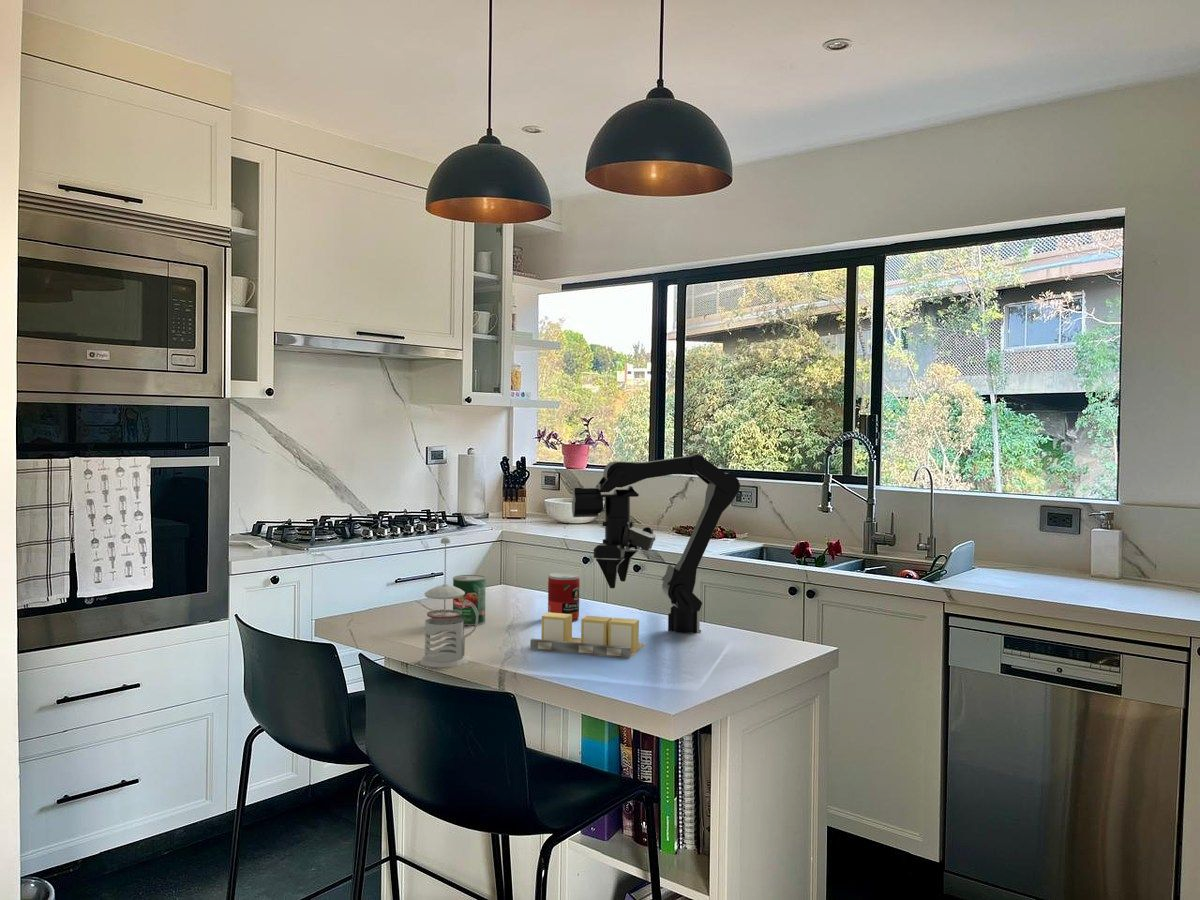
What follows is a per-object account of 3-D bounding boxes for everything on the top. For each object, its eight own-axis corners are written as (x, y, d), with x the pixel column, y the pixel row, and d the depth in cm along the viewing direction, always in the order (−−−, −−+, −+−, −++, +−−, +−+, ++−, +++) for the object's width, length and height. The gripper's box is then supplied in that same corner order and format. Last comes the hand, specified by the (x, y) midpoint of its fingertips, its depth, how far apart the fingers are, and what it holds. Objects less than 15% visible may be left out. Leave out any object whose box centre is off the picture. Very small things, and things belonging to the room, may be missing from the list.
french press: (424, 654, 183) (426, 534, 183) (480, 655, 183) (482, 534, 183) (414, 667, 174) (415, 540, 173) (473, 668, 173) (475, 540, 173)
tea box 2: (638, 647, 187) (639, 619, 187) (633, 652, 183) (633, 623, 183) (613, 645, 189) (614, 617, 189) (608, 650, 185) (608, 621, 185)
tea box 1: (611, 645, 189) (611, 617, 189) (605, 649, 185) (606, 621, 185) (587, 643, 191) (587, 615, 191) (580, 647, 187) (581, 619, 187)
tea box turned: (541, 643, 190) (541, 616, 189) (548, 639, 193) (548, 612, 193) (565, 646, 188) (565, 617, 188) (571, 641, 192) (572, 614, 192)
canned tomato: (485, 618, 219) (486, 574, 219) (485, 625, 211) (485, 579, 211) (453, 619, 218) (453, 574, 218) (451, 626, 210) (452, 579, 210)
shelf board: (645, 648, 191) (645, 634, 191) (629, 663, 178) (629, 648, 178) (552, 640, 197) (552, 626, 197) (529, 654, 185) (530, 639, 185)
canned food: (566, 623, 214) (566, 578, 214) (541, 619, 219) (541, 574, 219) (585, 618, 221) (586, 574, 220) (560, 614, 225) (561, 571, 225)
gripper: (642, 521, 190) (642, 593, 191) (660, 513, 208) (661, 579, 209) (592, 520, 194) (593, 591, 194) (615, 512, 211) (615, 577, 212)
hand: (617, 584), depth 202 cm, fingers open, 9 cm apart
